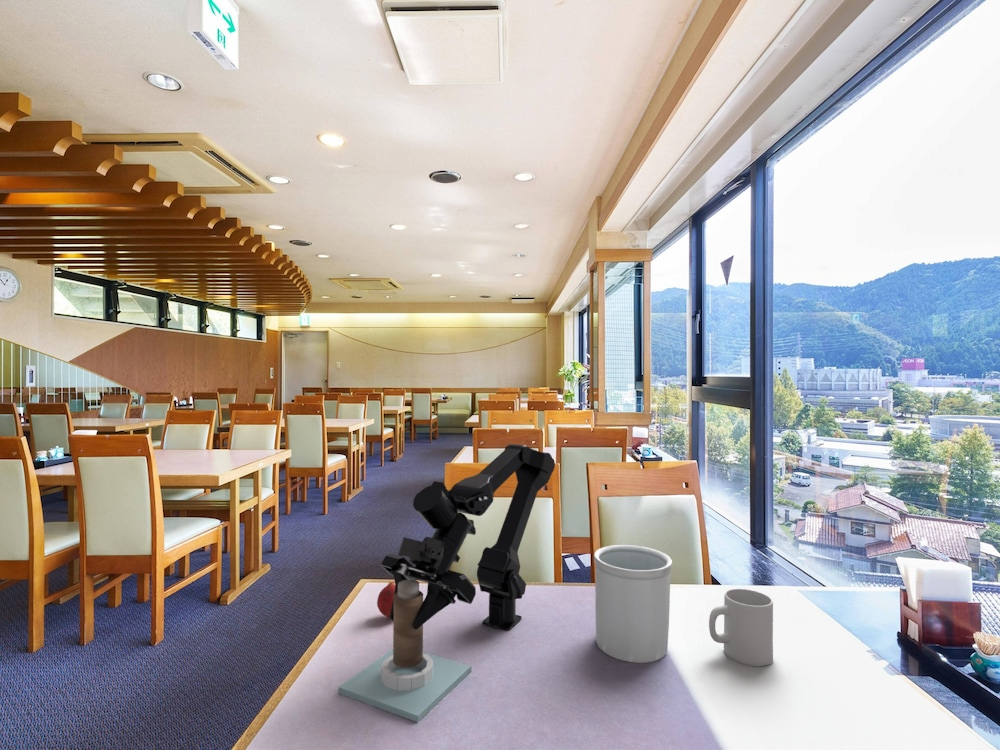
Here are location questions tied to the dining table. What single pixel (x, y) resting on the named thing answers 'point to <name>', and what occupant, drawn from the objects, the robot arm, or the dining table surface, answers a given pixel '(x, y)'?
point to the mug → (745, 627)
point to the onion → (386, 599)
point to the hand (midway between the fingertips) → (402, 623)
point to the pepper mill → (407, 625)
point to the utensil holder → (632, 602)
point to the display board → (405, 698)
